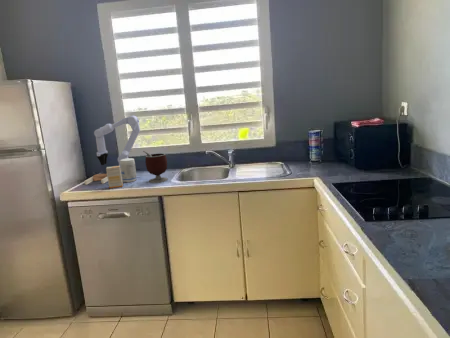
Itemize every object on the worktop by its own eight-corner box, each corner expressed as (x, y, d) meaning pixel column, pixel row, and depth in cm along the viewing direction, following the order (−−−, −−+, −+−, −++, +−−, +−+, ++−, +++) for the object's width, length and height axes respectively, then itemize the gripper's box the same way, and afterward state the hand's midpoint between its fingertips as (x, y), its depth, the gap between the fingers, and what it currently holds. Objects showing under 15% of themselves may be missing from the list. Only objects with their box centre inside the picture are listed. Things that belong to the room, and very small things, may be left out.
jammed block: (96, 179, 253) (95, 174, 252) (108, 178, 252) (108, 173, 251) (93, 180, 248) (92, 175, 247) (106, 180, 247) (105, 175, 246)
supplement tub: (119, 181, 241) (116, 160, 238) (132, 178, 247) (129, 157, 244) (127, 183, 234) (124, 161, 231) (139, 180, 241) (137, 158, 238)
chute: (94, 179, 254) (94, 175, 254) (112, 177, 253) (111, 174, 253) (84, 184, 239) (84, 181, 238) (103, 183, 238) (103, 179, 237)
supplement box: (123, 185, 229) (120, 165, 226) (122, 187, 224) (119, 166, 222) (110, 186, 228) (107, 166, 225) (108, 188, 223) (105, 168, 221)
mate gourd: (172, 177, 239) (169, 148, 235) (163, 183, 227) (159, 152, 222) (152, 177, 244) (148, 149, 240) (141, 183, 231) (137, 152, 227)
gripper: (99, 144, 260) (102, 162, 263) (91, 147, 246) (94, 166, 249) (109, 144, 260) (111, 162, 263) (101, 147, 246) (104, 166, 249)
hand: (103, 164), depth 256 cm, fingers open, 3 cm apart
